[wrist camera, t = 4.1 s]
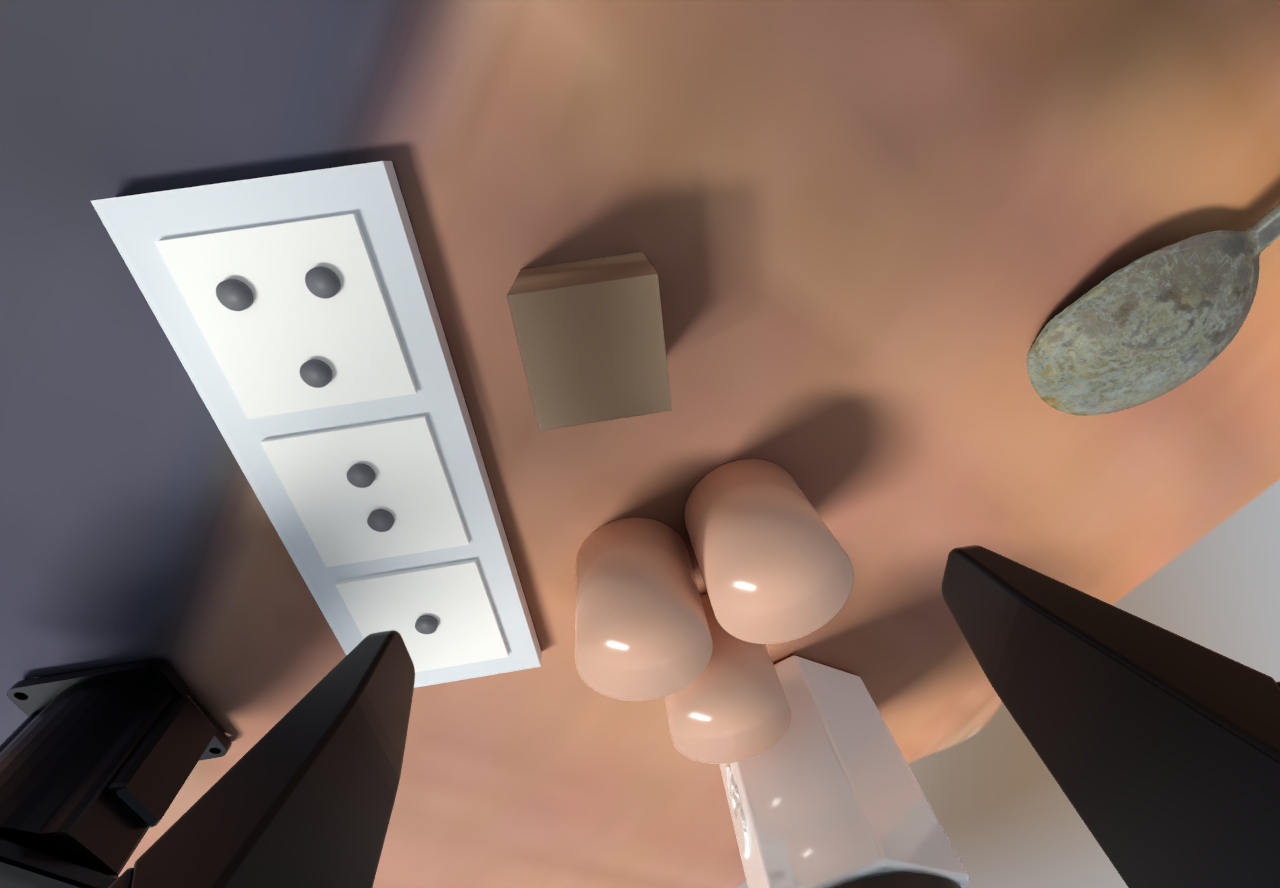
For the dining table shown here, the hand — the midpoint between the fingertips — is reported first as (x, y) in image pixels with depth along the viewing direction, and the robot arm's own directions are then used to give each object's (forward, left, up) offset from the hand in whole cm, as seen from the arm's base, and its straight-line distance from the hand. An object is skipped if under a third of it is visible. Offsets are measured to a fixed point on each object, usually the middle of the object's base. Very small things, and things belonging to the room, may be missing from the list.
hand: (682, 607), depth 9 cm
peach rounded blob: (+4, -7, -12) cm, 15 cm away
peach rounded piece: (+2, -14, -12) cm, 19 cm away
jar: (+6, -21, -12) cm, 25 cm away
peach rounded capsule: (-1, -9, -12) cm, 15 cm away
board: (-10, -3, -12) cm, 16 cm away
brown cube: (-1, +2, -12) cm, 12 cm away
